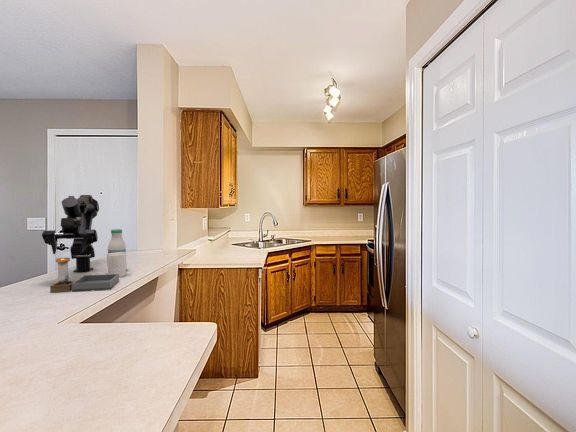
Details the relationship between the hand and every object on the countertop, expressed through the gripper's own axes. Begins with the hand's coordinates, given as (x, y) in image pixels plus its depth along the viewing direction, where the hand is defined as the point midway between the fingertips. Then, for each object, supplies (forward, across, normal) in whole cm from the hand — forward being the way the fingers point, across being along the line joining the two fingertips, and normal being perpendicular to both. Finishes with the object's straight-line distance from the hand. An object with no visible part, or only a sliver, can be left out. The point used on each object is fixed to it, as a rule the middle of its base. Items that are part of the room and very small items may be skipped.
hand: (67, 253), depth 131 cm
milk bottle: (-4, +15, +23) cm, 28 cm away
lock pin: (+14, 0, +4) cm, 15 cm away
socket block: (+14, 0, +4) cm, 15 cm away
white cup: (+2, +16, +16) cm, 23 cm away
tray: (+13, +11, +5) cm, 18 cm away
